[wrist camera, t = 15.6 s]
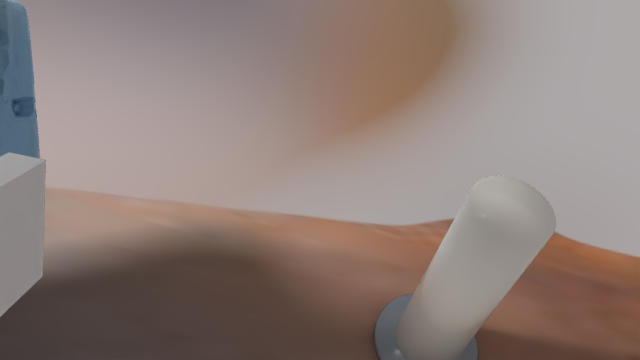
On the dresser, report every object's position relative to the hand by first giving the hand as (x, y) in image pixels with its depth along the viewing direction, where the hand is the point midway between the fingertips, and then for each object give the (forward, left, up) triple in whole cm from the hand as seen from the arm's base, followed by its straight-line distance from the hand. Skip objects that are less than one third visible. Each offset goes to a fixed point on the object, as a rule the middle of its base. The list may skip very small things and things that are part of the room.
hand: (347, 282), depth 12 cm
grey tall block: (0, +19, -29) cm, 34 cm away
